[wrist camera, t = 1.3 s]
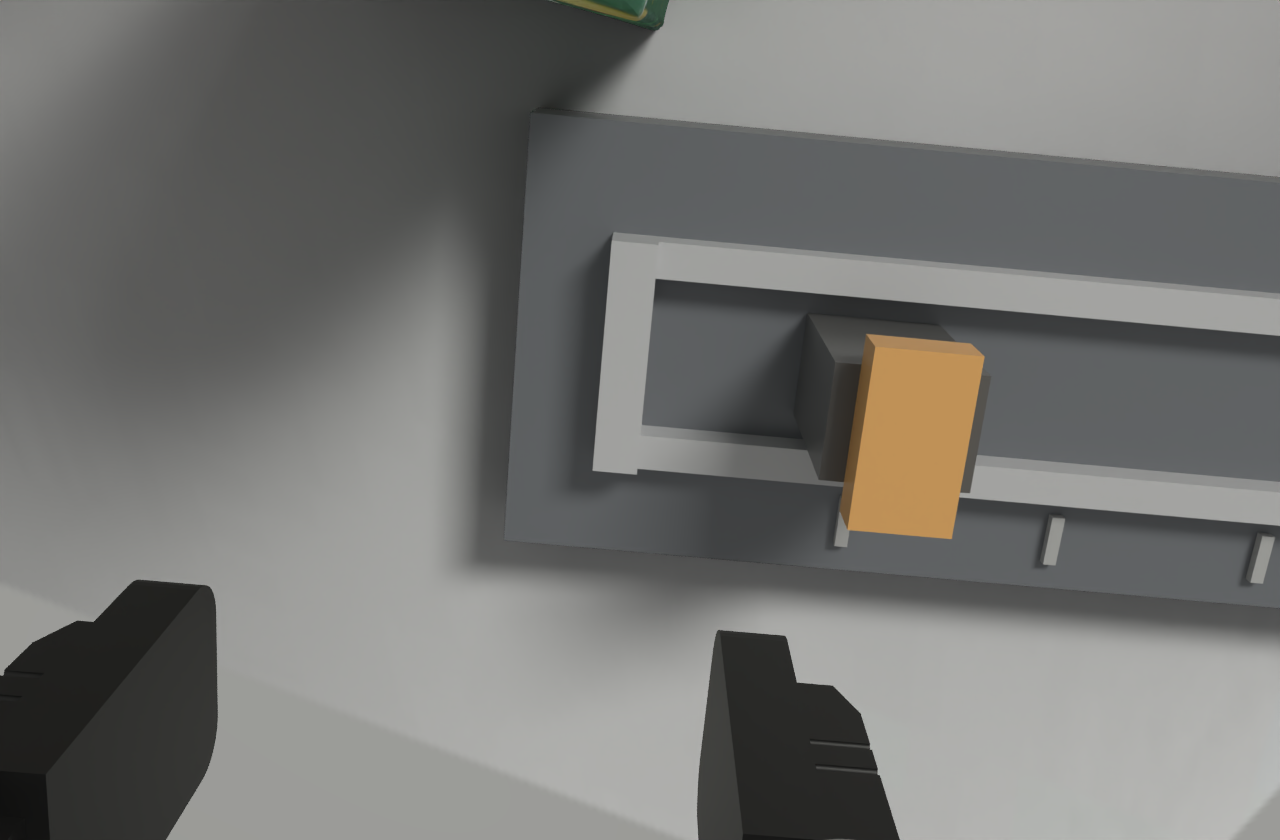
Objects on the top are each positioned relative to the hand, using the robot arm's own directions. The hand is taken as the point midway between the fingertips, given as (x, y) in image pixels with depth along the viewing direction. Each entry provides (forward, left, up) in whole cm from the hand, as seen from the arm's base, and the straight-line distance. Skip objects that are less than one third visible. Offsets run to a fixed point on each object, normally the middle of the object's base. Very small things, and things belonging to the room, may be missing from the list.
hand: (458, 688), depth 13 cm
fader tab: (0, +7, -15) cm, 17 cm away
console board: (0, +15, -17) cm, 23 cm away
